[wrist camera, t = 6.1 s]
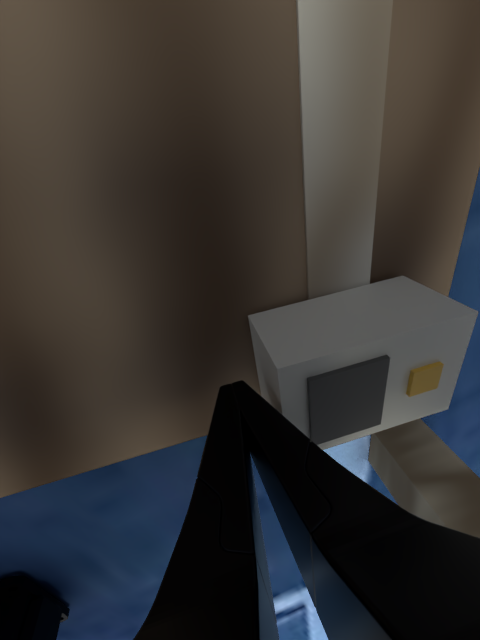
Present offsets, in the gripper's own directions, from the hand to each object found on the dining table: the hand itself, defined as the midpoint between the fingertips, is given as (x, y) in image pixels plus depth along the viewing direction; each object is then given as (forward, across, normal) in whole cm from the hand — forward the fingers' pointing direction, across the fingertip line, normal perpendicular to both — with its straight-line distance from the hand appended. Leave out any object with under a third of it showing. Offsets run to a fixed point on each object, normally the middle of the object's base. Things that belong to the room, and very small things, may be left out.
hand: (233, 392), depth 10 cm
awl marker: (+3, -10, +11) cm, 15 cm away
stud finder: (+1, -4, 0) cm, 4 cm away
